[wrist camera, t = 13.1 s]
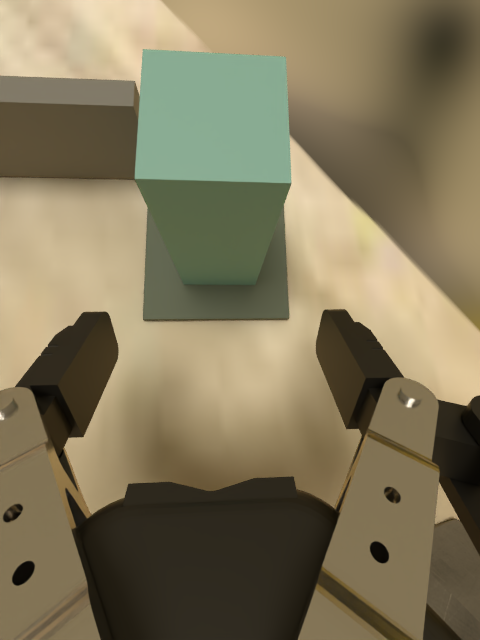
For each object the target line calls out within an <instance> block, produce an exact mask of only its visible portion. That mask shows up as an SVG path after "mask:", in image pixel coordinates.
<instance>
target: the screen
mask: <svg viewBox="0 0 480 640" xmlns="http://www.w3.org/2000/svg"><path fill="white" fill-rule="evenodd" d="M139 102H140V96H139V93H138V90H137V87H136V83H135V81H122V80H96V79H70V78H44V77H18V76H0V177H49V178H101V179H135V164H136V148H137V133H138V117H139Z"/></svg>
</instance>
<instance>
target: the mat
mask: <svg viewBox="0 0 480 640" xmlns="http://www.w3.org/2000/svg"><path fill="white" fill-rule="evenodd" d="M273 319H289V306H288V285H287V265H286V244H285V224H284V205H283V208H282V211H281V214H280V217H279V219H278V222H277V225H276V228H275V231H274V234H273V236H272V239H271V242H270V245H269V248H268V250H267V253H266V256H265V259H264V262H263V264H262V267H261V270H260V273H259V276H258V278H257V281H256V284H255V285H189V284H183V282H182V280H181V278H180V275H179V273H178V271H177V269H176V267H175V265H174V263H173V260H172V258H171V256H170V254H169V252H168V250H167V248H166V245H165V243H164V241H163V239H162V237H161V235H160V232H159V230H158V228H157V226H156V224H155V222H154V220H153V217H152V215H151V213H150V211H149V209H148V212H147V235H146V258H145V281H144V305H143V320H273Z"/></svg>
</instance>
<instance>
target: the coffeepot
mask: <svg viewBox="0 0 480 640" xmlns="http://www.w3.org/2000/svg"><path fill="white" fill-rule="evenodd" d="M426 603H427V604H428V605H429V606H430V607H431V608H432V609H433V610H434V611H435V612H436V613H437V614H438V615H439V616H440V617H441V618H442V619H443V620H444V621H445V622H446V623H447V624H448V625H449V627H450V628H451V629H452V630H453V631H454V632H455V633H456V634H457V635H458V636H459V637H460V638H461V639H462V640H480V556H479V554H478V552H477V550H476V548H475V547H474V545H473V543H472V541H471V539H470V537H469V536H468V534H467V532H466V530H465V528H464V526H463V525H462V523H461V521H459V520H457V519H453V520H450V521H447V522H443V523H440V524H436V525H434V533H433V543H432V553H431V563H430V572H429V582H428V592H427V602H426Z"/></svg>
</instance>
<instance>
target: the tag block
mask: <svg viewBox="0 0 480 640" xmlns="http://www.w3.org/2000/svg"><path fill="white" fill-rule="evenodd" d="M135 181H136V183H137V185H138V187H139V189H140V192H141V194H142V196H143V198H144V200H145V202H146V204H147V207H148V209H149V211H150V213H151V215H152V217H153V220H154V222H155V224H156V226H157V228H158V230H159V232H160V235H161V237H162V239H163V241H164V243H165V245H166V248H167V250H168V252H169V254H170V256H171V258H172V260H173V263H174V265H175V267H176V269H177V271H178V273H179V275H180V278H181V280H182V282H183V284H189V285H255V284H256V281H257V278H258V276H259V273H260V270H261V267H262V264H263V262H264V259H265V256H266V253H267V250H268V248H269V245H270V242H271V239H272V236H273V234H274V231H275V228H276V225H277V222H278V219H279V217H280V214H281V211H282V208H283V205H284V203H285V200H286V197H287V194H288V191H289V189H290V186H291V162H290V139H289V118H288V94H287V72H286V57H280V56H260V55H241V54H223V53H204V52H185V51H167V50H148V49H143V56H142V71H141V87H140V102H139V117H138V133H137V148H136V164H135Z"/></svg>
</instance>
